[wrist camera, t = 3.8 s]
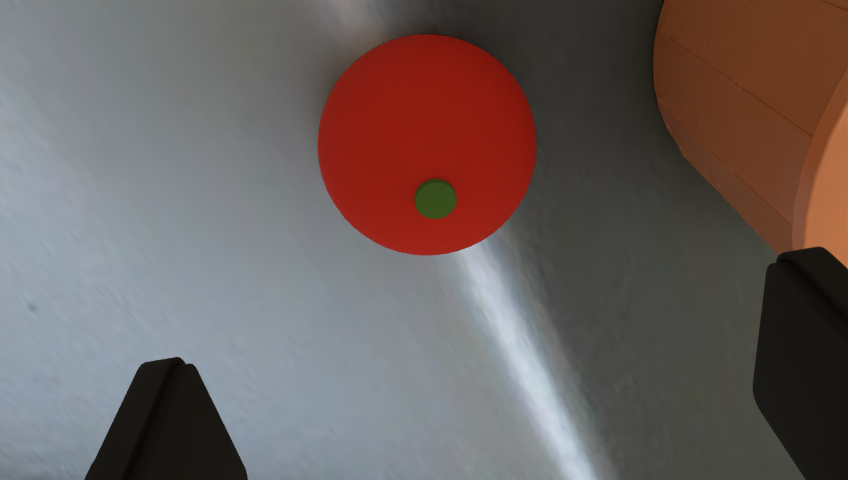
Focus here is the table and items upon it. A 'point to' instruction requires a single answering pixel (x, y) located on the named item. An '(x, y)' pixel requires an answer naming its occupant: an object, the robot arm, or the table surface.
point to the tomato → (427, 144)
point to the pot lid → (825, 182)
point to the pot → (749, 95)
